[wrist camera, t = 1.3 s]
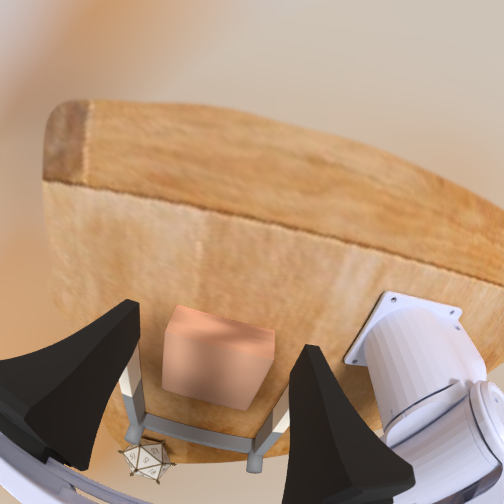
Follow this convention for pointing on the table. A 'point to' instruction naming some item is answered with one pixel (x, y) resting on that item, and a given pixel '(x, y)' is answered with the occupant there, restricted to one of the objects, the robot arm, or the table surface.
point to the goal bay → (197, 432)
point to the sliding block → (215, 358)
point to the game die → (147, 459)
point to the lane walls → (133, 377)
